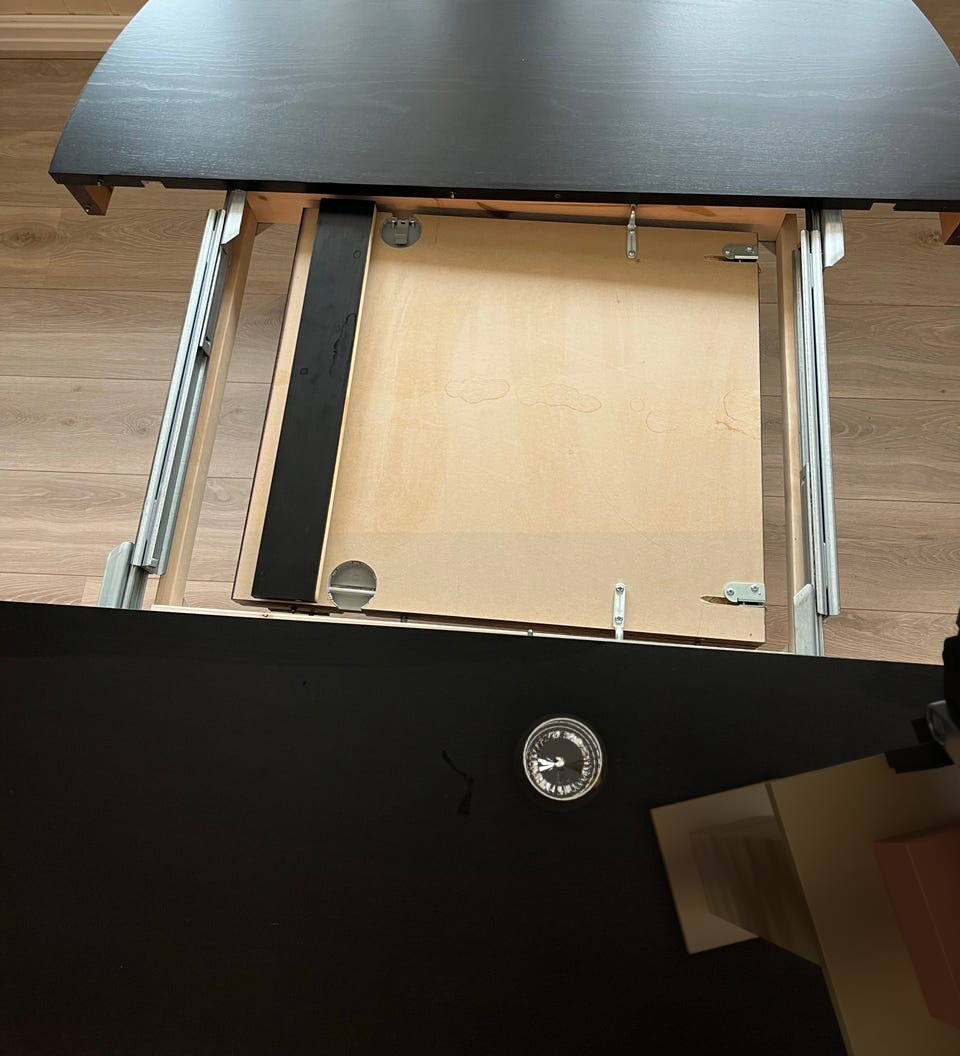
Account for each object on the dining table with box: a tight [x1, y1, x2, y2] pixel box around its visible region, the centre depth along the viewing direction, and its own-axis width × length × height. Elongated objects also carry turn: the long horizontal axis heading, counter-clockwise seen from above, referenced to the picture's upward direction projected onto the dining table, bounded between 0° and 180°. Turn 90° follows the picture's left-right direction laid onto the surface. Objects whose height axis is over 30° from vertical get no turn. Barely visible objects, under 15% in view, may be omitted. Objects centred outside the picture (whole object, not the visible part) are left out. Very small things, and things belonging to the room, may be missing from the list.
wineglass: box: [513, 712, 609, 812], centre depth 68 cm, size 6×6×12 cm
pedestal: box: [649, 753, 960, 1056], centre depth 52 cm, size 10×10×41 cm
